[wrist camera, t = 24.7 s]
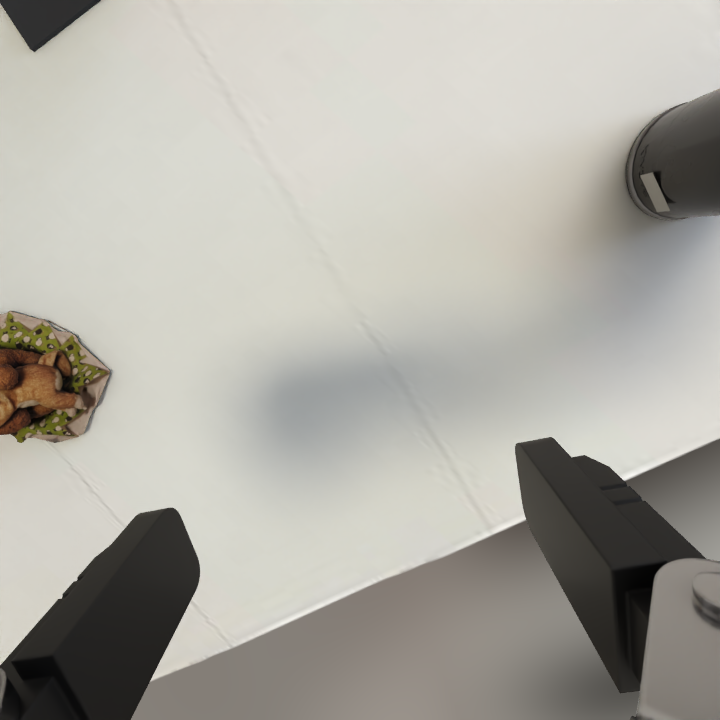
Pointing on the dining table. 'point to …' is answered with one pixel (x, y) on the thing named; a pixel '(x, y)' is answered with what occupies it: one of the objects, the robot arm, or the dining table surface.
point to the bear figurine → (45, 380)
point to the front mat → (43, 17)
